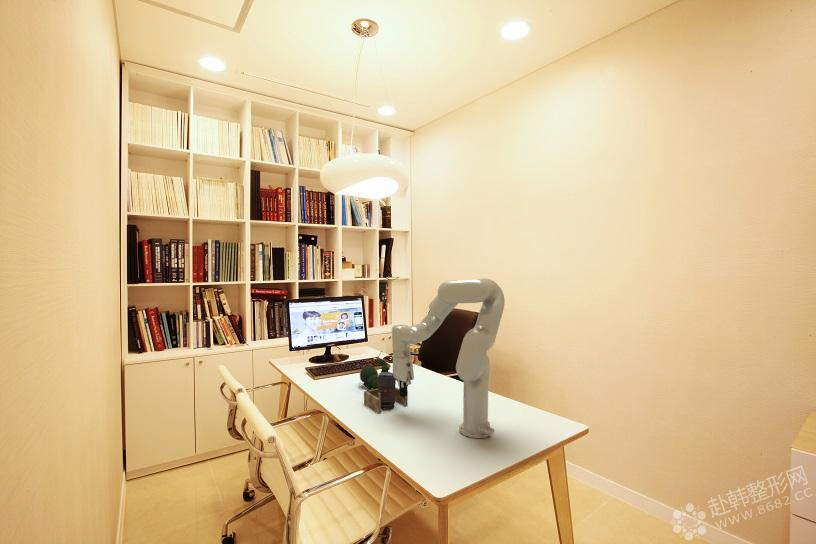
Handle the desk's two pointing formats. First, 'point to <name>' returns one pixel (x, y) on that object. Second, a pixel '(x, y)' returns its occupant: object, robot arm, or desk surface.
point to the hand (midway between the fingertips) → (403, 395)
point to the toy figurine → (372, 375)
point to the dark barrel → (386, 389)
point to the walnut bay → (375, 402)
